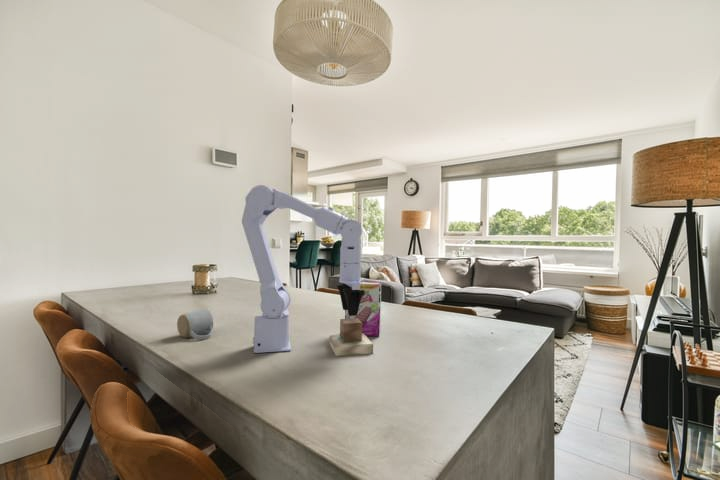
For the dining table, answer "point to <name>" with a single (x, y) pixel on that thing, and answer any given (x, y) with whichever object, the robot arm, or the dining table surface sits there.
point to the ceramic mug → (196, 324)
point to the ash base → (350, 346)
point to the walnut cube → (350, 330)
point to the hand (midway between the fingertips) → (349, 312)
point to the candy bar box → (369, 309)
